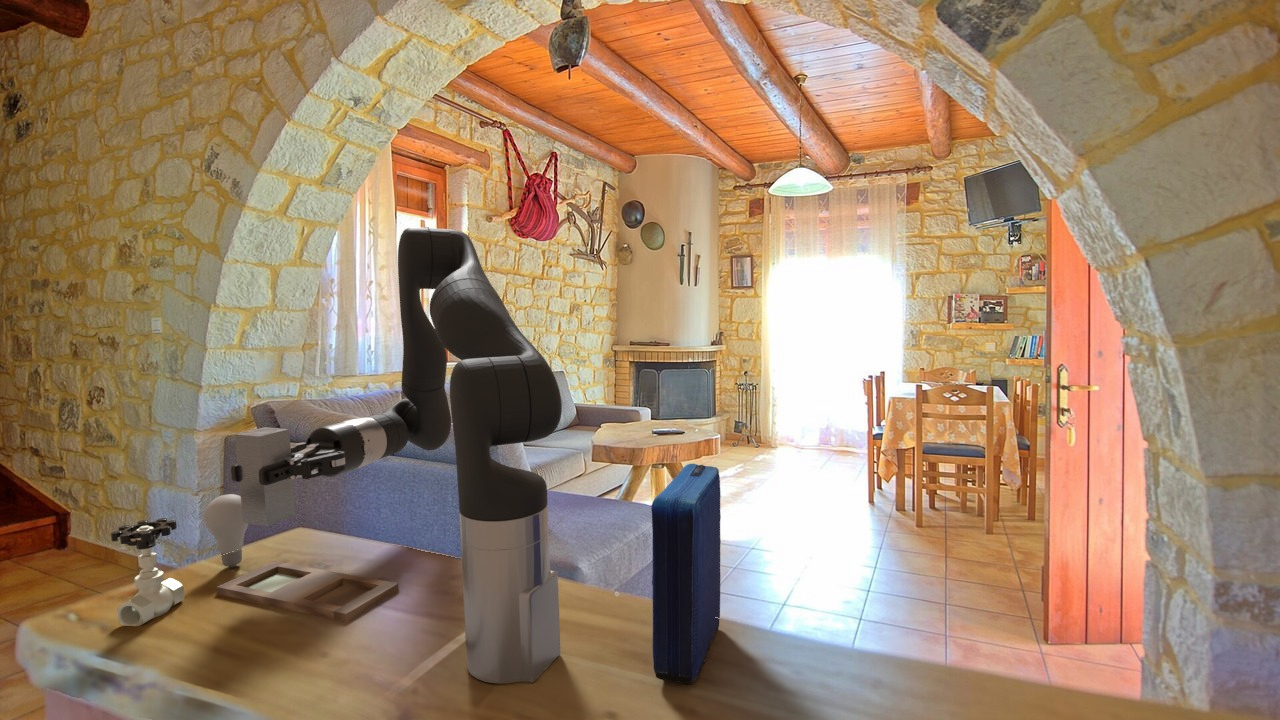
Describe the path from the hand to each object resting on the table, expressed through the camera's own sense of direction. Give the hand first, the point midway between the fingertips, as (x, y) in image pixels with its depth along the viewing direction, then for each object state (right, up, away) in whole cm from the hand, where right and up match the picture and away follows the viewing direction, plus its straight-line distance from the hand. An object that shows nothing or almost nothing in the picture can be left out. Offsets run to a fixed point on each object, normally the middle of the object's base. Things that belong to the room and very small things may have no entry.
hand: (247, 475), depth 89 cm
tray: (+7, -17, +2) cm, 18 cm away
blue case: (+57, -17, -14) cm, 61 cm away
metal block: (+1, -6, +3) cm, 7 cm away
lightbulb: (-10, -16, +13) cm, 23 cm away
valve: (-10, -18, -3) cm, 21 cm away
